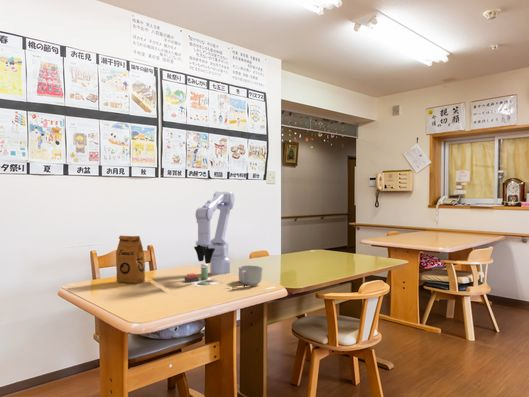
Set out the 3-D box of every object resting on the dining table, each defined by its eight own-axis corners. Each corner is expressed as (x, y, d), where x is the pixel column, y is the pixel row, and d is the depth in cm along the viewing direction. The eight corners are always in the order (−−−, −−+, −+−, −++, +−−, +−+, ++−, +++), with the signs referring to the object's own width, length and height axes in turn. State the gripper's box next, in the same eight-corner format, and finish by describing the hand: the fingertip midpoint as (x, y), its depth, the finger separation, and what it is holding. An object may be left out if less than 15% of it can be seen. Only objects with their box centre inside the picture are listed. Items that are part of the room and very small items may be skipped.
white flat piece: (209, 279, 187) (209, 273, 187) (224, 285, 174) (224, 279, 174) (183, 283, 179) (183, 277, 179) (197, 289, 167) (197, 283, 167)
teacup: (248, 281, 184) (248, 264, 184) (267, 283, 177) (267, 266, 177) (229, 286, 172) (229, 268, 172) (248, 290, 166) (248, 271, 166)
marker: (206, 278, 184) (206, 263, 184) (209, 279, 181) (209, 264, 181) (199, 279, 182) (199, 264, 182) (202, 280, 180) (202, 265, 180)
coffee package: (135, 285, 176) (134, 237, 175) (113, 283, 180) (112, 236, 180) (148, 281, 185) (148, 234, 185) (127, 279, 189) (127, 234, 189)
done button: (193, 277, 180) (193, 273, 180) (195, 278, 178) (195, 274, 178) (187, 278, 179) (187, 274, 179) (189, 279, 176) (189, 275, 176)
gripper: (190, 232, 186) (190, 260, 186) (202, 234, 174) (203, 265, 174) (203, 231, 189) (203, 259, 190) (217, 233, 177) (217, 263, 177)
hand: (204, 262), depth 182 cm, fingers open, 7 cm apart
